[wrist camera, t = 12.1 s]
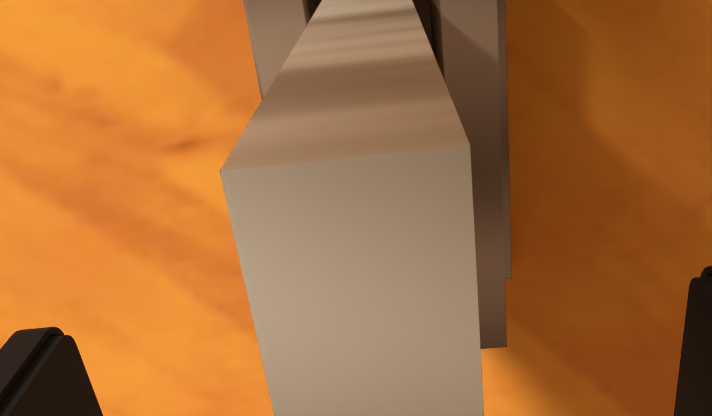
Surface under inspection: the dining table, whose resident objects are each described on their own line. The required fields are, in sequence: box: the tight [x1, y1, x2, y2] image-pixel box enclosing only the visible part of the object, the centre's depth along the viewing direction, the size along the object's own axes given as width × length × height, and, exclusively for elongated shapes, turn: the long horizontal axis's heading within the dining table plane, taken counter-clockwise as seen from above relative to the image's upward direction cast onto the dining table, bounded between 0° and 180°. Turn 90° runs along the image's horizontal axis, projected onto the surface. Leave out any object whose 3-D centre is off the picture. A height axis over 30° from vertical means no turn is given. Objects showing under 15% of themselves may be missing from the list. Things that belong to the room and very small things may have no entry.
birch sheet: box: [220, 0, 484, 416], centre depth 14 cm, size 10×2×16 cm, turn 7°
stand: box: [243, 0, 512, 349], centre depth 20 cm, size 12×8×5 cm, turn 7°
